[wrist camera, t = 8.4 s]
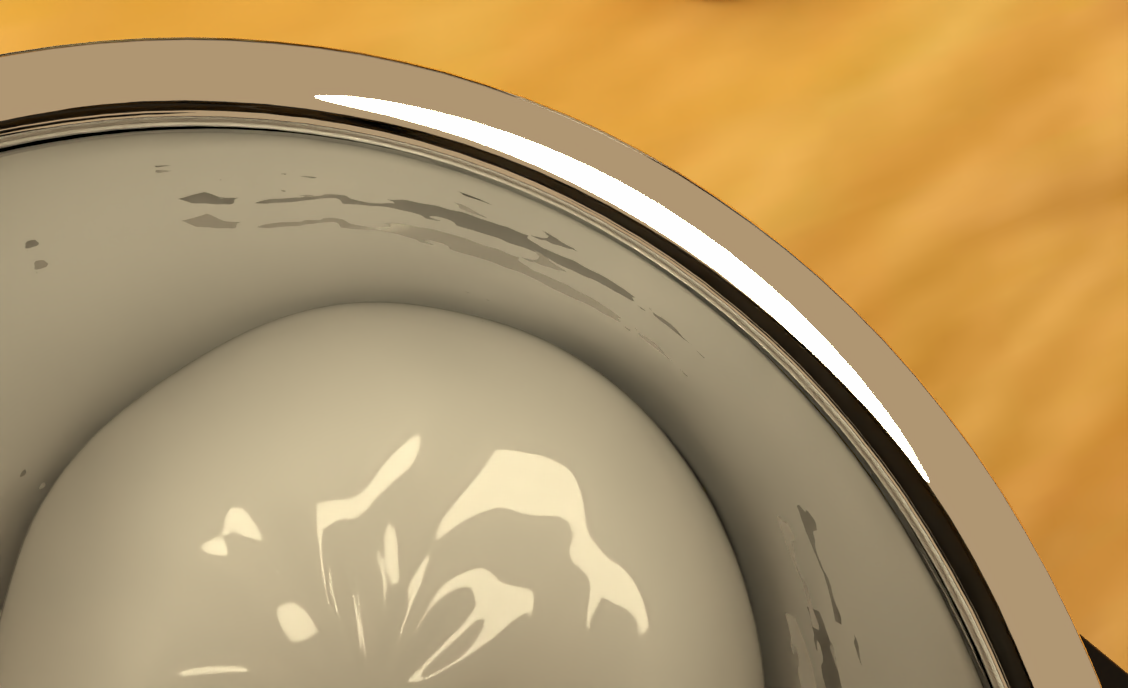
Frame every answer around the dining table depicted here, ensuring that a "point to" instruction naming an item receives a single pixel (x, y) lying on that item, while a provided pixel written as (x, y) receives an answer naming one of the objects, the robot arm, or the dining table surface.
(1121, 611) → the dining table surface
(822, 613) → the beer glass
